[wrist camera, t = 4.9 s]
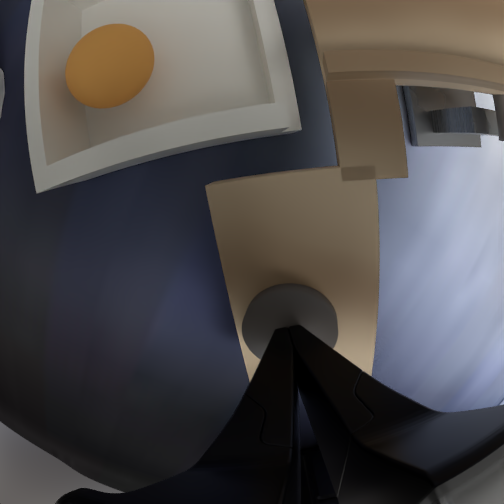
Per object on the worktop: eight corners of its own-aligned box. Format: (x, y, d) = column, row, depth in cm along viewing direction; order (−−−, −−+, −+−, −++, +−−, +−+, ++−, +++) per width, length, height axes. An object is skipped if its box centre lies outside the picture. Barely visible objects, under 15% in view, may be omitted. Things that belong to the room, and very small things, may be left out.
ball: (56, 126, 7) (127, 116, 10) (92, 89, 6) (179, 88, 8) (52, 52, 6) (119, 51, 9) (90, 2, 4) (168, 14, 7)
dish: (292, 133, 10) (315, 124, 7) (86, 180, 10) (36, 193, 7) (252, -42, 7) (256, -88, 4) (73, 9, 7) (35, -16, 4)
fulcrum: (475, 146, 10) (519, 152, 7) (412, 146, 10) (458, 148, 7) (434, -9, 7) (467, -29, 4) (366, -27, 7) (393, -58, 4)
